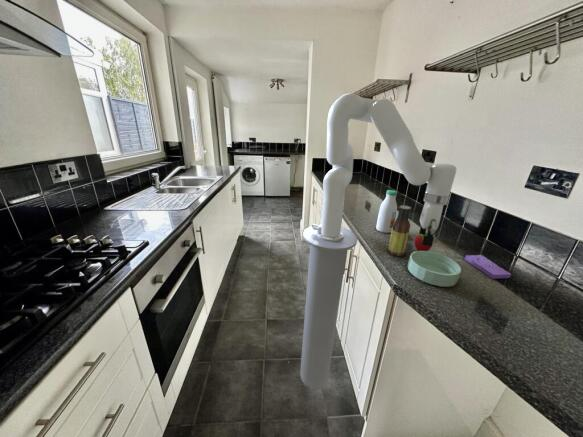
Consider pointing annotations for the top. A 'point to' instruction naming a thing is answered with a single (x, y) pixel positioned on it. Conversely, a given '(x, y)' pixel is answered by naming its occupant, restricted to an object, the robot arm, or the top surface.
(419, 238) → the strawberry
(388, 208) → the milk bottle
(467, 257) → the sponge
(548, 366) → the top surface
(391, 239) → the sauce bottle
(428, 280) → the bowl
